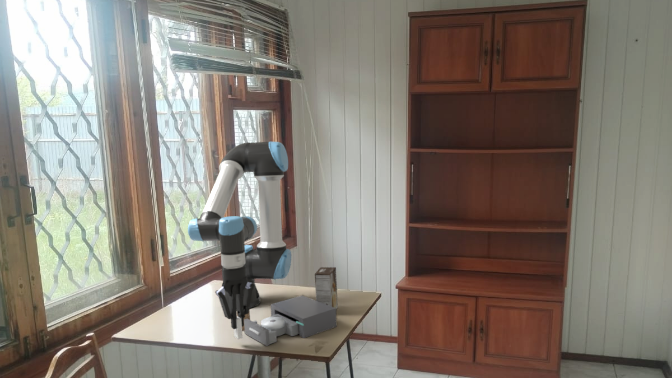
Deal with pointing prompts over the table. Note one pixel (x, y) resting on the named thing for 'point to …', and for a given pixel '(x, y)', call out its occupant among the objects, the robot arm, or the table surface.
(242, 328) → the brown rounded peg
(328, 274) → the coffee box
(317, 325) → the housing
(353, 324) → the table surface
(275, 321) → the lid
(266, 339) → the grey drawer
